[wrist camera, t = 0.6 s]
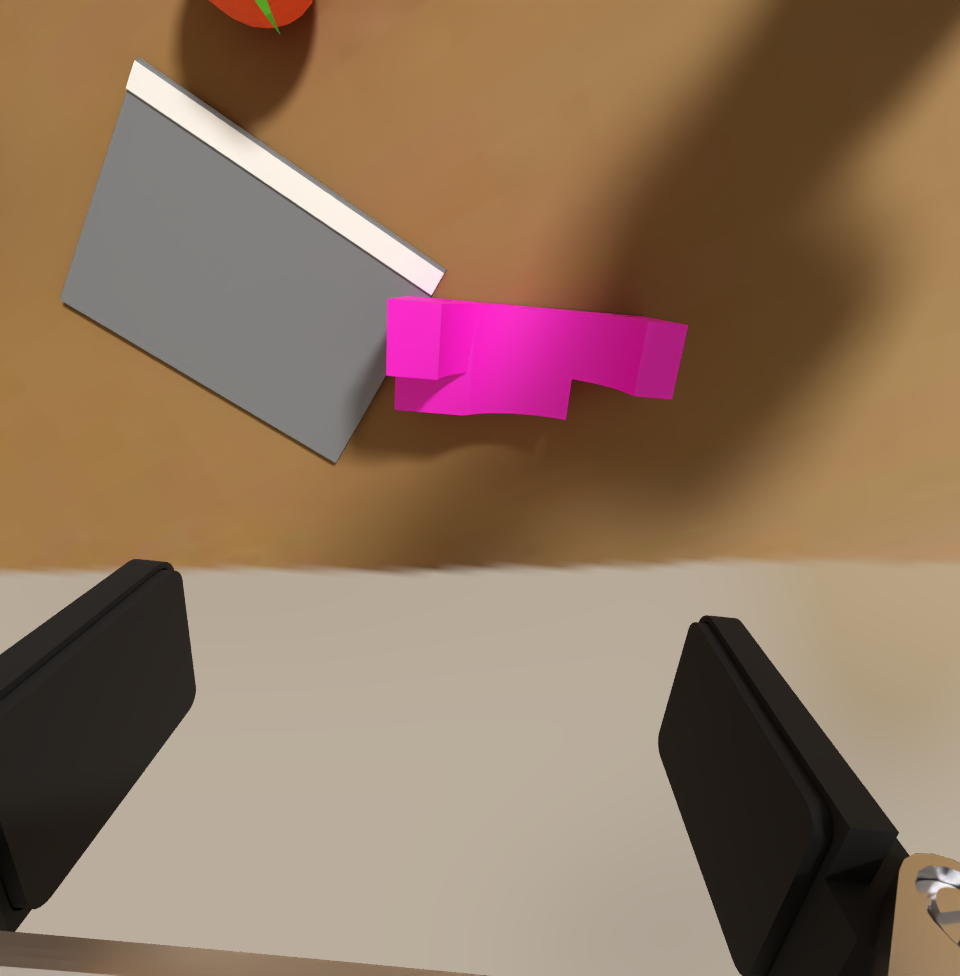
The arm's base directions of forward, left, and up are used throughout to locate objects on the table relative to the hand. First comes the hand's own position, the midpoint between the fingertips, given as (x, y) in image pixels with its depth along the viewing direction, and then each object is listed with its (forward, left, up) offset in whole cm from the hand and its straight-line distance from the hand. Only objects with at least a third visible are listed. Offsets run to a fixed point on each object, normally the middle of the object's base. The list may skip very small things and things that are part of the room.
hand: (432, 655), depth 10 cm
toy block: (-4, +1, -27) cm, 27 cm away
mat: (+2, -16, -27) cm, 31 cm away
